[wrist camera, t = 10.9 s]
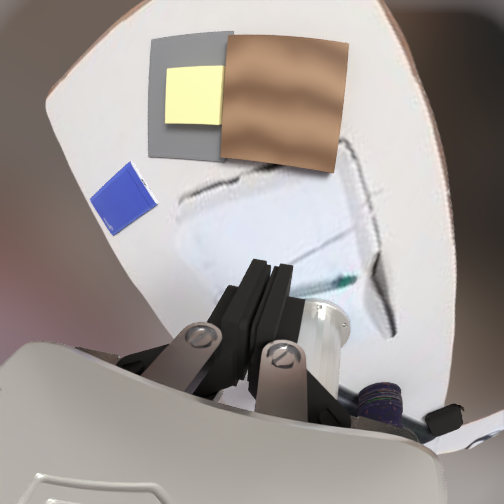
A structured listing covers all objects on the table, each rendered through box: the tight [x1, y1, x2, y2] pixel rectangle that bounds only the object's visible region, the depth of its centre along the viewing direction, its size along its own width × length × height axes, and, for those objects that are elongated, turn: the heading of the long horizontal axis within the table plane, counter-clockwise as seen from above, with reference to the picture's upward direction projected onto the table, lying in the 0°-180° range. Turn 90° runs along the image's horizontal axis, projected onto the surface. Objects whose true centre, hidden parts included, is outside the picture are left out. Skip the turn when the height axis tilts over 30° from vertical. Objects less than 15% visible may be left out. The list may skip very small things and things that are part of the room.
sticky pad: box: [165, 66, 225, 125], centre depth 32 cm, size 8×8×2 cm
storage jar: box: [357, 382, 404, 428], centre depth 45 cm, size 10×10×15 cm
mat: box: [148, 31, 234, 162], centre depth 33 cm, size 18×12×1 cm, turn 177°
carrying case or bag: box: [425, 404, 464, 437], centre depth 51 cm, size 11×3×15 cm
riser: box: [221, 35, 349, 173], centre depth 30 cm, size 16×14×2 cm
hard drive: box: [90, 161, 159, 236], centre depth 44 cm, size 2×8×12 cm
